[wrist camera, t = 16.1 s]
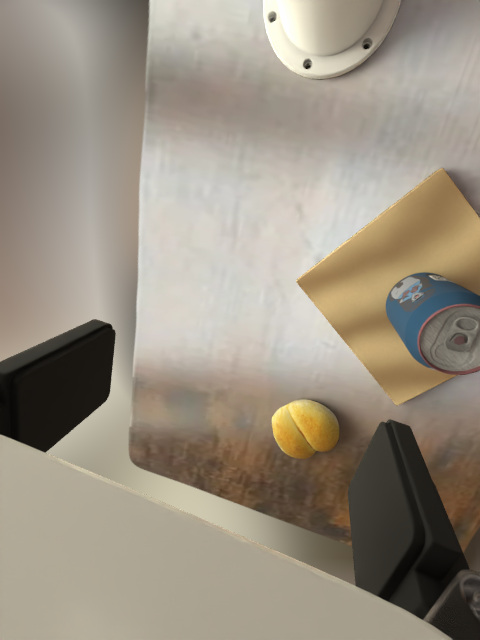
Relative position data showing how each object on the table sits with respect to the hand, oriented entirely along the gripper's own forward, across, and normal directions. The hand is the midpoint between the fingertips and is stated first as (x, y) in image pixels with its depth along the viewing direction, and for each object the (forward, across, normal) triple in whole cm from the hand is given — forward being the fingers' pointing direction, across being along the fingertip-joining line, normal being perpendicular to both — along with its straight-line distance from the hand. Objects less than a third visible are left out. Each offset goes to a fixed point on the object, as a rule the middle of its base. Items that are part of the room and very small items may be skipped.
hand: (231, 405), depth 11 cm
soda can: (+29, -14, 0) cm, 32 cm away
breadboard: (+30, -14, 0) cm, 33 cm away
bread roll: (+31, -7, +21) cm, 38 cm away
